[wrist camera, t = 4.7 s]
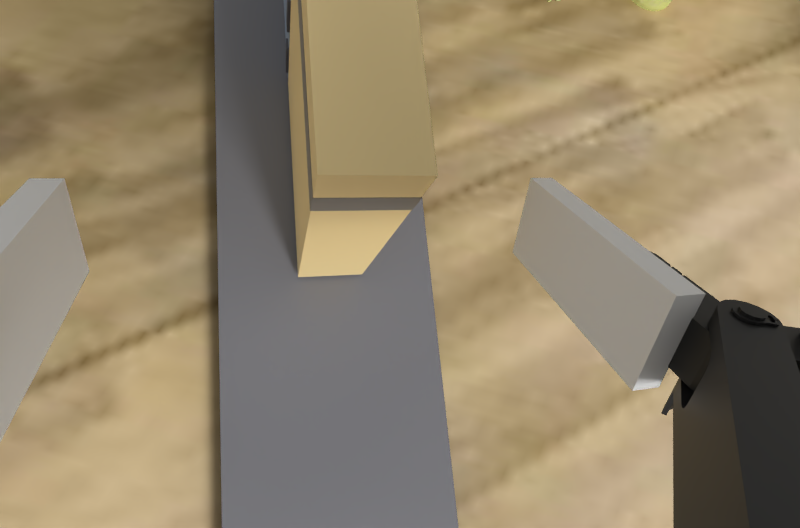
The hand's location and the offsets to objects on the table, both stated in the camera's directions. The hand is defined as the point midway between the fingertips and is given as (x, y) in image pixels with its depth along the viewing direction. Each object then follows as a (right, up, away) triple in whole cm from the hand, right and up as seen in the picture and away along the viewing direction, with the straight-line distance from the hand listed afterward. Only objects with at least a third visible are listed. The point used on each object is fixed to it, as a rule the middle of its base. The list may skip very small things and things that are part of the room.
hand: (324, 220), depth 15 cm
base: (-2, +3, +11) cm, 12 cm away
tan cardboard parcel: (-1, +3, +10) cm, 10 cm away
